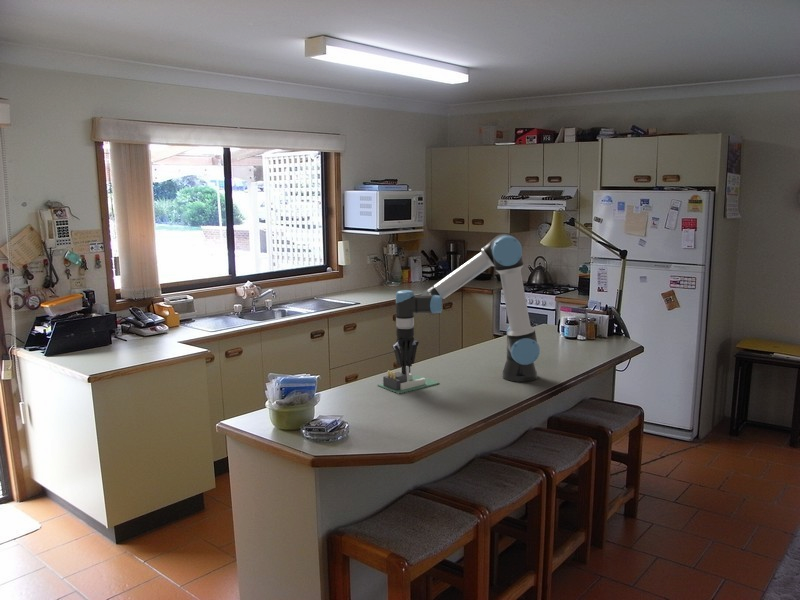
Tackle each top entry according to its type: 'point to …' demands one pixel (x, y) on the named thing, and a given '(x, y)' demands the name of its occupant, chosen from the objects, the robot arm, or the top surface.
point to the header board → (427, 383)
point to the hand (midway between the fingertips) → (406, 380)
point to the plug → (401, 377)
